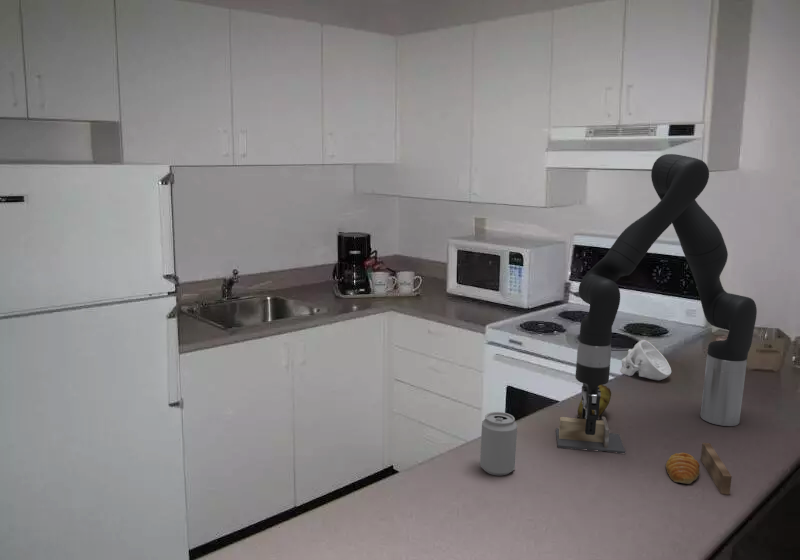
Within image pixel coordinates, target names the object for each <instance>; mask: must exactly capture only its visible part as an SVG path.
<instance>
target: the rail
mask: <svg viewBox="0 0 800 560" xmlns="http://www.w3.org/2000/svg"><path fill="white" fill-rule="evenodd" d="M701 443H702V444H701V452H700V461H701V462H702V464H703V465H704V468H705V469H706V471H707V473H708V474H709V476H710V477H711V480H712V481H713V483H714V484H715V486H716V488H717V489H718V492H719V493H720V495H727V496H729V495H730V493H731V486H732V477H733V476H732V474H731V473H730V472H729V470H728V469H727V467H726V465H725V463H724V462H723V460H722V459H721V457H720V456H719V455H718V453H717V452H716V450H715V448H714V447H713V445H712V444H711V443H708V442H701Z"/></svg>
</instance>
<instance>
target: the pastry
mask: <svg viewBox="0 0 800 560" xmlns="http://www.w3.org/2000/svg"><path fill="white" fill-rule="evenodd" d="M665 469H666V472H667V475H668V474H669V475H668V476H669V478H670V479H671V480H672V481H673V482H674V483H681V484H686V485H691V484H692V483H693V482H694V481H697V480H698V477H699V476H700V474H701V472H700V464H699V462H698V460H697V459H695V457H694V456H693V455H691V454H689V453H687V452H679V453H674V454H671V455H670V457H669V459H668V460H667V461H666V463H665Z"/></svg>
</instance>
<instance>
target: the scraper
mask: <svg viewBox="0 0 800 560" xmlns="http://www.w3.org/2000/svg"><path fill="white" fill-rule="evenodd" d="M585 425H586V419H580V418H579V417H578V418H576V417H566V416H560V417H559V426H558V428H559V439H569V440H580V441H591V442H602V443H603V445H604V448H608V441H609V433H610V428H609V424H608V421H607V418H606V416H601V420H600V419H598V420H596V429H595V435H587V434H586V433H585Z"/></svg>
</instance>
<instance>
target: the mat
mask: <svg viewBox="0 0 800 560" xmlns="http://www.w3.org/2000/svg"><path fill="white" fill-rule="evenodd" d="M555 435H556V436H555V437H556V443H557V444H558V445H557V448H558V447H560V448H559V449H567V448H572V449H571V450H578V449H587V450H586V451H588V450H598V451H597V452H599V451H608V452H607V453H609V452H617V453H616V454H620V453H625V454H626V450H625V446H624V444H623V441H622V438H621V435H620V433H613V432H609V441H608V448H604V445H603V443H602V442H591V441H580V440H569V439H559V427H558V428H557V427H556V428H555Z"/></svg>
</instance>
